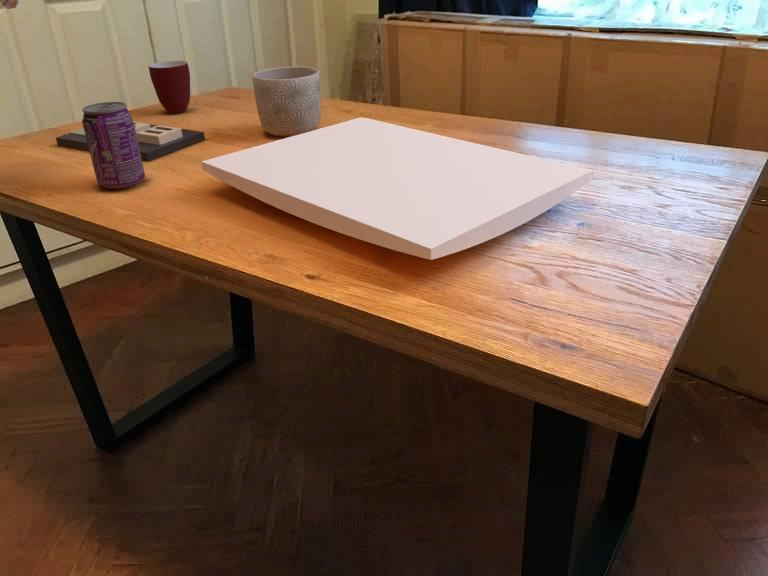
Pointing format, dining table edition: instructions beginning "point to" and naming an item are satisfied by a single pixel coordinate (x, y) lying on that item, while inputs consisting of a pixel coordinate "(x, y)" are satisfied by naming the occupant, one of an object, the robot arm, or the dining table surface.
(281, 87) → the planter
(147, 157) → the letter board
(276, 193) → the board
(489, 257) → the dining table surface
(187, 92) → the mug
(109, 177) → the beverage can
